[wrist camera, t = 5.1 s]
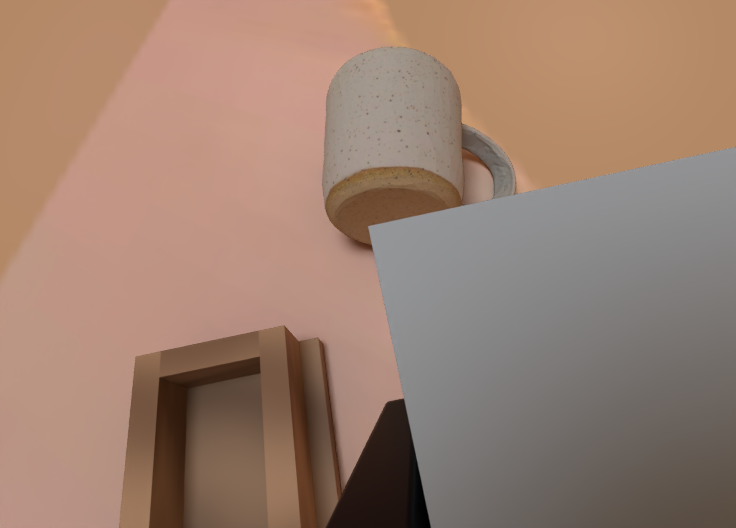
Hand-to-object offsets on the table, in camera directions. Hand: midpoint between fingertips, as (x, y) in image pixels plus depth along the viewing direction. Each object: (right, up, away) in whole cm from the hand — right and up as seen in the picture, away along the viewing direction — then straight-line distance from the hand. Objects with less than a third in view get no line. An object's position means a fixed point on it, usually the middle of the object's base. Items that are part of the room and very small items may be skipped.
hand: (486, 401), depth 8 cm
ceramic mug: (+1, +7, +18) cm, 19 cm away
